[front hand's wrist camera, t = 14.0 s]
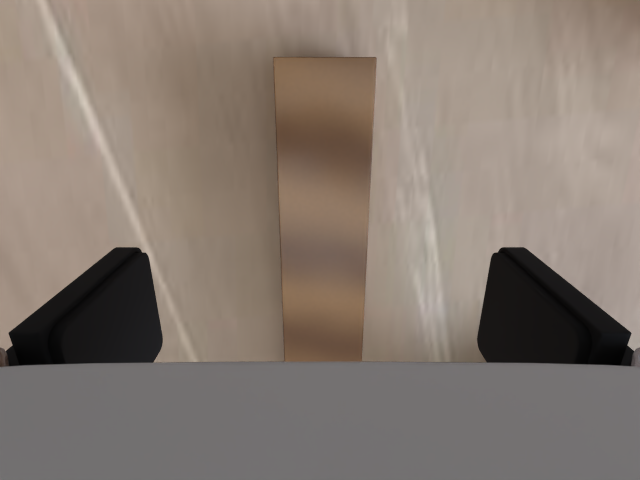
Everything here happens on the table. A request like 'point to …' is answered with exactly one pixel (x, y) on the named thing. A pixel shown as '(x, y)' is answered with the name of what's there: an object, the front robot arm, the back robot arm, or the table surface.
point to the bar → (324, 202)
